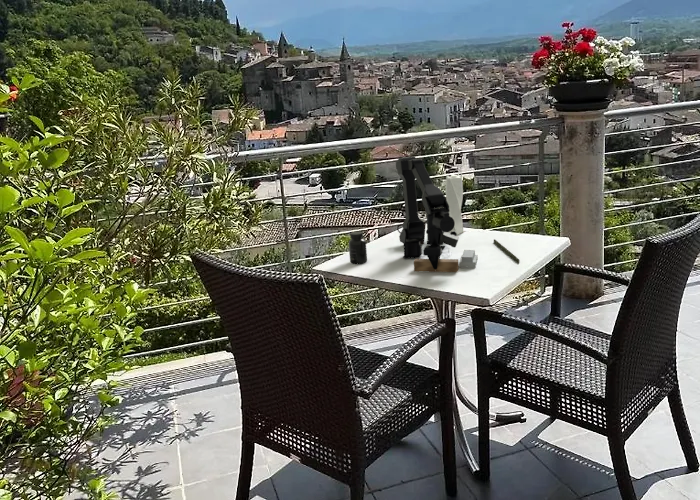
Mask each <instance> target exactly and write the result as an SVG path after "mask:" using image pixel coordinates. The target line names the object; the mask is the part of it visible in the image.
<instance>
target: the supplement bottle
mask: <svg viewBox="0 0 700 500" xmlns="http://www.w3.org/2000/svg"><path fill="white" fill-rule="evenodd" d="M363 234H364V233H363V231H353V232H350V240H348V250H349V262H350V263H351V264H352V265H364V264H366V263H367V261H368V253H367V241H366V240H365V238H364V235H363Z"/></svg>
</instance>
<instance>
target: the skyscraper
mask: <svg viewBox="0 0 700 500" xmlns="http://www.w3.org/2000/svg"><path fill="white" fill-rule="evenodd" d="M462 177H463V172H462V171H458V173H457V174H450V176H449V175H446V177H445V179H446V181H445V198H446V200H447V203H448V205H449V210H450V211H449V212H448V213H449V216H450V217H452V218H453V220H454V222H455V225H454V228H453V229H452V230H451V231H450V232H449V233H451V232H452V231H456V233H457V236H459V235H461V234H464V233H465V232H467V231H466V230H464V223H463V215H462V210H461V209H462V205H463V197H464V186H463V178H462ZM446 233H448V232H446Z"/></svg>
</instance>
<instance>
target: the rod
mask: <svg viewBox="0 0 700 500" xmlns="http://www.w3.org/2000/svg"><path fill="white" fill-rule="evenodd" d="M493 244H495V245H496V247H498V248H499V249H501V250H502V251H503V252H504V253H506V255H508V256H509V257H510V258H511V259H513V261H515V262H516V263H517V264H520V259H519V258H518V257H517V256H516V255H515V254H513V252H511V251H510V250H509V249H507V248H506V247H505V246H504V245H503V244H502V243H500V242H499V241H497V240H496V239H493Z"/></svg>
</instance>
